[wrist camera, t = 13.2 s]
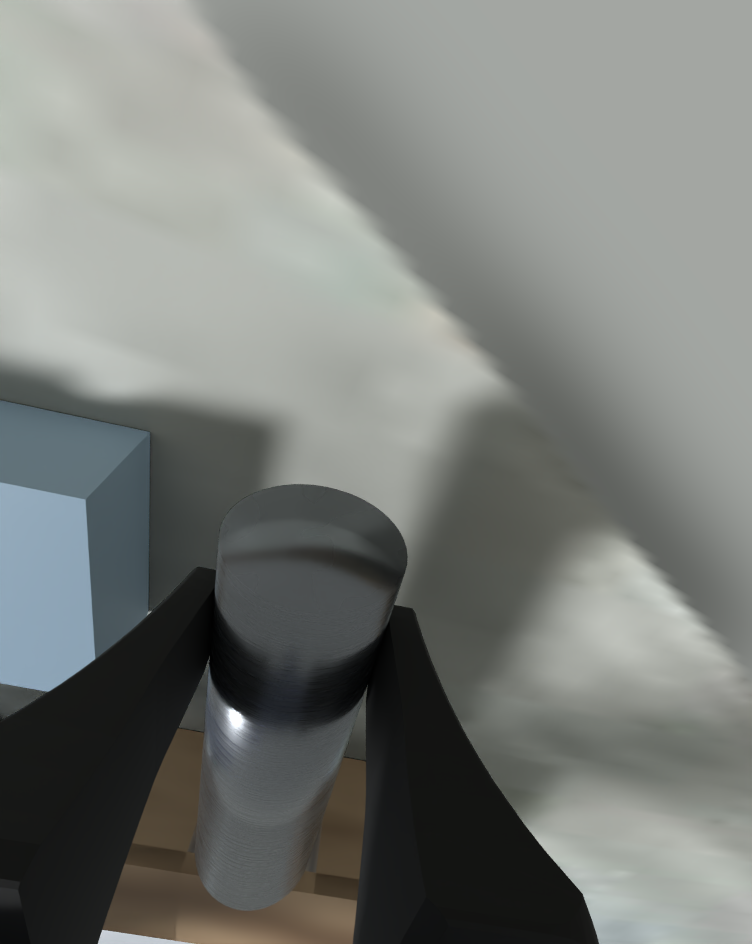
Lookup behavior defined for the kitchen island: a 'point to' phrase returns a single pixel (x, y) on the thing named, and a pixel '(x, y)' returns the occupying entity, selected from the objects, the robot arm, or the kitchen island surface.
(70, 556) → the v block
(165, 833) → the beam
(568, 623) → the kitchen island surface
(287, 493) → the axle
